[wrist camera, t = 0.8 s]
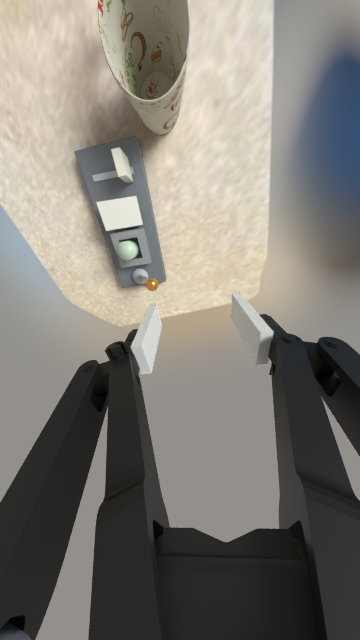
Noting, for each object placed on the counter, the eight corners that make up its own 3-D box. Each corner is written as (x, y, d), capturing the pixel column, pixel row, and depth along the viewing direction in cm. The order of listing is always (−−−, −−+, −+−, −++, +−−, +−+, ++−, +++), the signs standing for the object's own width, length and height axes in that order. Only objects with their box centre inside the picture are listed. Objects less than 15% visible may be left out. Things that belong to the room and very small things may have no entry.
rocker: (97, 203, 25) (96, 202, 24) (136, 196, 26) (136, 195, 25) (107, 231, 27) (106, 230, 26) (143, 224, 28) (142, 224, 27)
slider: (120, 159, 24) (110, 149, 21) (127, 157, 24) (119, 147, 21) (126, 182, 25) (118, 176, 22) (133, 181, 25) (126, 175, 22)
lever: (133, 273, 31) (146, 281, 25) (144, 270, 32) (158, 277, 25) (137, 283, 32) (149, 293, 26) (146, 281, 33) (161, 290, 27)
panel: (81, 156, 25) (66, 145, 22) (139, 142, 24) (132, 129, 21) (125, 284, 37) (119, 290, 33) (166, 278, 36) (164, 284, 32)
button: (120, 241, 28) (114, 243, 26) (136, 239, 28) (131, 240, 26) (125, 258, 30) (120, 261, 27) (140, 256, 30) (136, 259, 27)
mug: (159, 160, 26) (147, 127, 17) (93, 65, 21) (30, -48, 12) (199, 107, 23) (209, 34, 14) (132, -18, 18) (85, -244, 9)
